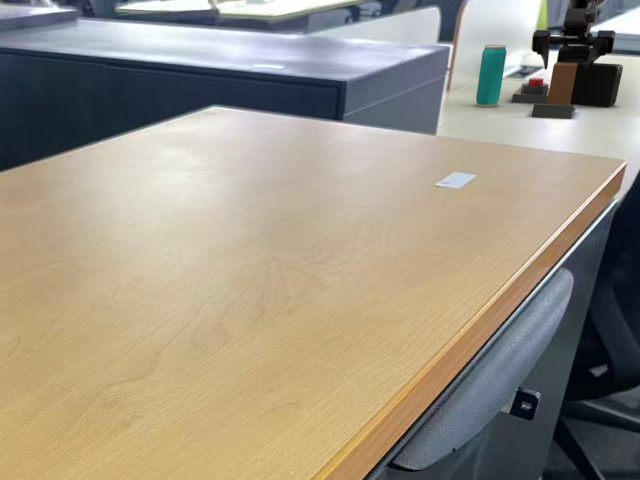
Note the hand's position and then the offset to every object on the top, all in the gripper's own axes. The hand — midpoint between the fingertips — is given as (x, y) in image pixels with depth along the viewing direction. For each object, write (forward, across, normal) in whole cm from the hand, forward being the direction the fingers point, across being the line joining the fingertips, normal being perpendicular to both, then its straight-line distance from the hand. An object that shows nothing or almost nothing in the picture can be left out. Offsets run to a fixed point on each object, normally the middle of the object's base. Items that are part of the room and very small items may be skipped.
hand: (565, 69), depth 216 cm
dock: (+14, 0, 0) cm, 14 cm away
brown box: (+8, 0, +6) cm, 10 cm away
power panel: (-1, -8, +15) cm, 17 cm away
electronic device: (+2, +7, +12) cm, 14 cm away
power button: (-4, -8, +12) cm, 15 cm away
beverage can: (+8, -17, +5) cm, 20 cm away
